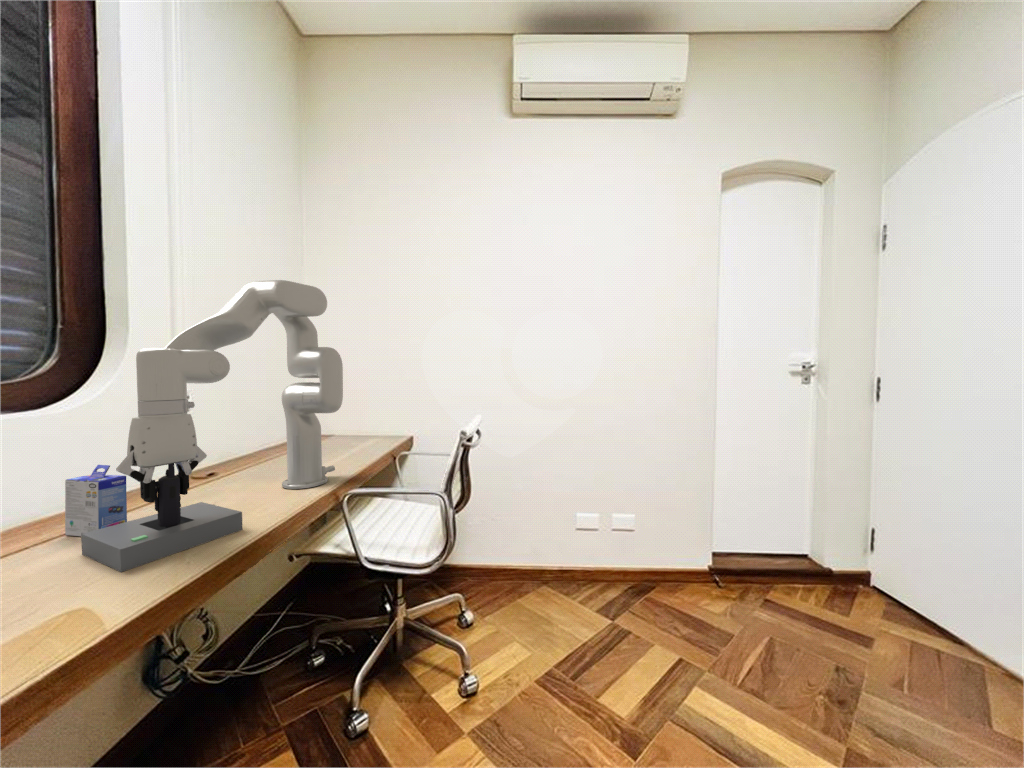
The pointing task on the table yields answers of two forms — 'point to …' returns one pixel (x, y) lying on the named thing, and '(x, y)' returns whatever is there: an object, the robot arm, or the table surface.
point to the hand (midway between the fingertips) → (166, 496)
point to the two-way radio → (168, 498)
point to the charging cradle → (158, 536)
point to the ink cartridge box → (94, 502)
